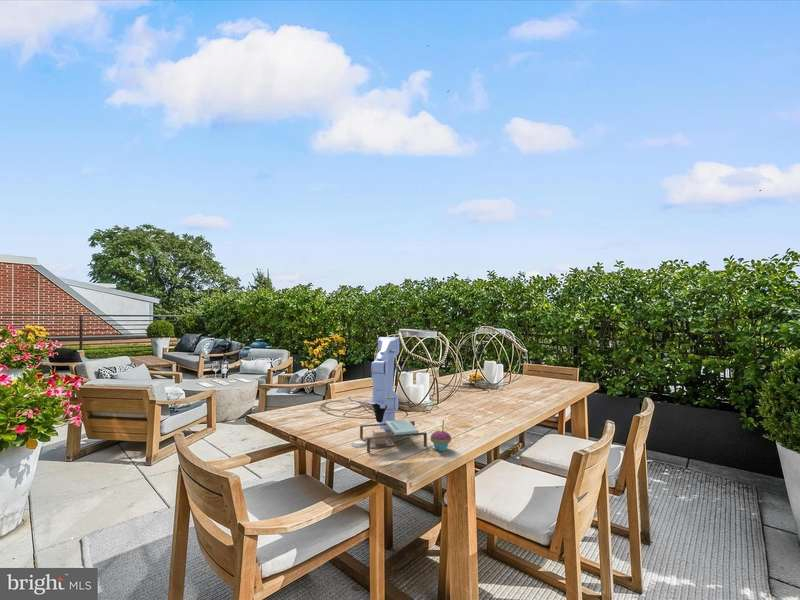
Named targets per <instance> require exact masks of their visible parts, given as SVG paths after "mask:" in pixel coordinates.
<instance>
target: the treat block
mask: <svg viewBox="0 0 800 600" xmlns="http://www.w3.org/2000/svg"><path fill="white" fill-rule="evenodd" d="M386 433H387V432H386V430H384V429H380V428H377V429H375V428H374V429H372V437H376V436H387V435H386ZM373 442H374V444H375V445H380V444H386V438H380V439H373Z"/></svg>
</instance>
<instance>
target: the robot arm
mask: <svg viewBox="0 0 800 600" xmlns="http://www.w3.org/2000/svg"><path fill="white" fill-rule="evenodd" d="M377 348H378V350H379V351H378V352H377V353H376V355H375V356H376V357H375V359H374V361H371V364H370V372H371V379H372V399H369V402H370V403H371V406H372V408H373V410H374V416H375V420H376V423H378V424H381V423H386V421H393V420H396V412H397V411H398V410H399V395H398V393H397V392H395V391H394V389H393V388H394V370H395V369H394V368H395V359H396V357H397V356H398V355H399V353H400V337H398V336H394V337H393V336H390V337H389V336H388V337H387V336H379V337H378V339H377ZM376 428H377V429H384V430H385V432H386V431H391V429H390V428H389V427H388V426H387V425H382V426H376Z"/></svg>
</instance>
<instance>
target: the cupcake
mask: <svg viewBox="0 0 800 600" xmlns="http://www.w3.org/2000/svg"><path fill="white" fill-rule="evenodd" d="M441 425H442V426H441V431H440V430H437V431H435V432H433V433H432V434H431V435H430V442H432V444H433V447H434V449H435V450H436V451H438V452H445V451H447V449H448V446H449V444H450V443H451V441H452V435H450V433H448V432H446V431H444V427H445V418H443V420H442V424H441Z"/></svg>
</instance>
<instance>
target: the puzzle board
mask: <svg viewBox="0 0 800 600" xmlns="http://www.w3.org/2000/svg"><path fill="white" fill-rule="evenodd" d="M408 421H409V422H410V423H411V424H412V425H413V426H414V427H416V426H415V420H408ZM382 425H387V424H386V423H381V424H379V423H370V424H360V425H359V438H360V439H363V438H364V437H363V435H364V434H363V433H364V430H363V429H364V428H366V427H367V428H368V427H377V426H382ZM427 434H428V433H427V432H425V431H424V432H419V433H413V434H402V435H395V434H391V435H389V434H388V435H386V436H376V437H373V436H367V437H365V438H364V441H362V440H360V441H354V442H352V443H351V444H350V446H351V447H353V448H364V447H366V452H371V450H374V449H375V450H376V449H385V448H386V449H387V448H394V447H395V446H396V445H395V443H394V442H393V440H392V439H391V438H399V437H400V438H401V437H412V436H413V437H414V436H423V446H424V447H427V446H428V445H427V444H428V443H427V442H428V440H427V439H428V437H427ZM380 438H386V444H380V445H375V444H374V442H373V439H380Z"/></svg>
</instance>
